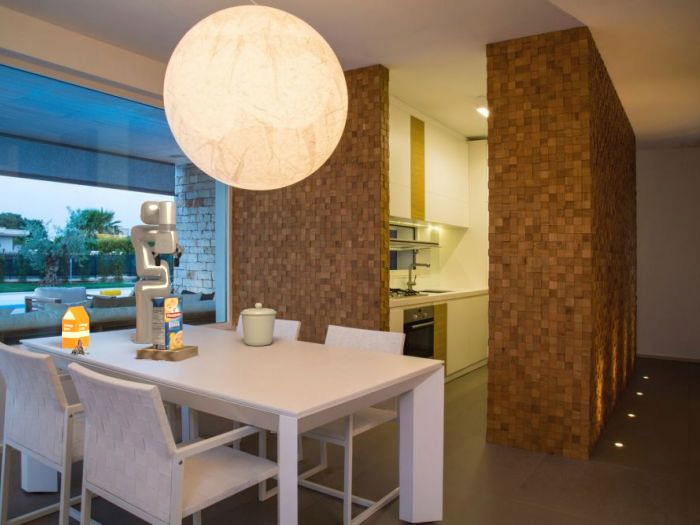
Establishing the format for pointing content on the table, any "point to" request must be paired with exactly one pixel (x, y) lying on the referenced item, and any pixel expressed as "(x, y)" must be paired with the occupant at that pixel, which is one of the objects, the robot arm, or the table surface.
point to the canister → (258, 325)
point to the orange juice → (75, 327)
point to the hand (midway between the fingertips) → (167, 266)
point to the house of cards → (80, 349)
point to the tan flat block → (168, 353)
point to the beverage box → (167, 323)
